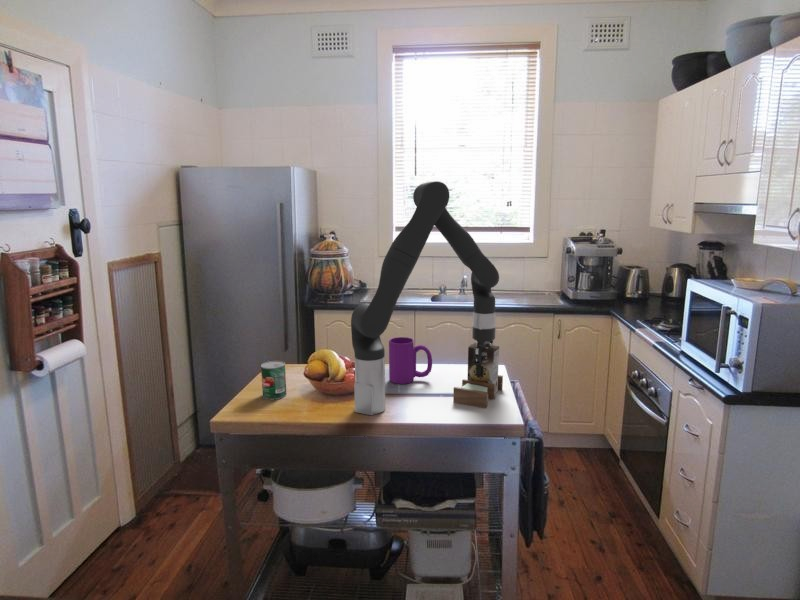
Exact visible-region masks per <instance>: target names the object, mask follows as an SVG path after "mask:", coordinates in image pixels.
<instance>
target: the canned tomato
mask: <svg viewBox="0 0 800 600" xmlns="http://www.w3.org/2000/svg"><path fill="white" fill-rule="evenodd" d="M260 373H261V375H260V376H261V389H262V398H263V399H264V398H265V400H267V399H270V400H269V401H273V400H274V399H276V400H280V398H281V399H283V398H285V397H286V396H287V378H286V362H285V361H281V360H271V361H265V362H262V363H261V365H260ZM274 401H275V400H274Z"/></svg>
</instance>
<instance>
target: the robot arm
mask: <svg viewBox="0 0 800 600" xmlns="http://www.w3.org/2000/svg"><path fill="white" fill-rule="evenodd" d="M412 197H413V198H412V199H413V203H414V205H415V206H416V208H415V210H414V213H413V215H412V216H411V219H410V220H409V221H408V222H407V224H406V225H405V227H404V228H403V229H402V230H401V231H400V232H399V233H398V234H397V236H396V237H395V239H394V240H393V242H392V243H391V245H390V247H389V249H388V250H387V253H386V254H385V257H384V258H383V261H382V265H381V268H380V269H381V270H380V276H379V282H378V286H377V289H376V292H375V294H374V296H373V298H372V300H371V301H370V303H366V302H365V303H361V304H359V305H357V306H356V307H355V308H354V310H353V311H352V314H351V318H350V329H351V331H350V332H351V343H352V344H351V345H352V348H353V351H354V377H355V378H354V380H355V382H354V384H353V386H354V387H353V388H354V389H353V390H354V391H353V392H354V412H355V413H358V414H363V415H367V416H373V415H376V414H380V413H382V412H385V410H386V376H385V375H386V369H385V368H386V367H385V366H386V365H385V364H386V363H385V361H386V360H385V358H386V356H385V354H386V353H385V352H386V351H385V346H384V344H383V342H382V339H381V335H382V334H383V333H385V331H386V329H387V328H388V326H389V323H390V320H391V318H392V316H393V313H394V309H395V307H396V305H397V302H398V299H399V298H400V296H401V294H402V293H403V292H402V291H404V288H405V286H406V283H407V282H408V279H409V278H410V276H411V274H412V272H413V270H414V269H415V266H416V264H417V262H418V261H419V258H420V255H421V253H422V251H423V249H424V247H425V245H426V243H427V241H428V239H429V237H430V235H431V232H432V230H433V228H434V227H435V228H436V229H437V230H438V232H439V233H440V234H441V235H442V237H444V239H445V240H446V241H447V243H448V245H449V246H450V248H452V250H453V251H454V253H455V254H456V257H458V259H459V261H460V262H461V263H462V264H463V265H464V266H466V268H468V269H469V270H470V271H471V274H470V283H471V289H472V295H473V315H472V328H471V329H472V332H471V333H472V335H471V337H472V339H473V340H475V341H476V343H477V345H476V347H477V348H474V349H473V364H474V365H476V376H478V377H482V376H483V365H484V359H485V355H484V356H482V353H483V351H484V349H485V348H486V349H487V348H489V347H490V346H491V345H493V346H494V340H495V339H496V323H497V322H496V320H497V319H496V318H497V317H496V297H495V295H494V294H493V292H492V288H494V287H496V286H497V284H498V283H499V282H500V274H499V271H498V269H497V268H496V266H495V265H494V264H493V263H492V261H491V260H490V259H489V258H488V257H487V256H486V255H485V254H484V253H483V252H482V249H480V247H479V246H478V244H477V242H476V241H475V239H474V238H473V237H472V235H471V234H470V233H469V232H468V231H467V230H466V229H465V228H464V227H463V226H462V225H461V224H460V223H459V222H458V221H456V220H455V219H454V217H453V216H452V215H451V214H450V213H449V211H448V209H447V206H448V204H449V200H450V190H449V188H448V186H447V185H446V183H445V182H442V181H439V180H432V181H427V182H423V183H420V184H419V185H417V187H415V189H414V191H413V195H412ZM488 346H489V347H488ZM478 359H479V362H478Z"/></svg>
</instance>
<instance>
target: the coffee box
mask: <svg viewBox="0 0 800 600" xmlns="http://www.w3.org/2000/svg"><path fill="white" fill-rule="evenodd" d="M477 343H478V342H473V343H472V344H470V345H469V346H468V347H467V349H468V351H467V379H466V380H472V381H478V382H485V383H491V384H495V394H496V393H497V392H498V391H499V390H498V375H499V363H500V362H499V361H500V359H499V358H500V346H499V345H494V344H493V345H491V346H490V347H489V346H488V347H489V348H487V349H486V348H485V349H484V351H483V353H482V356H484V355H485V359H484V365H483V376H482V377H478V376H476V365H474V364H473V349H474V348H477V347H476V345H477ZM478 362H479V359H478Z"/></svg>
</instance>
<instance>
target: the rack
mask: <svg viewBox="0 0 800 600" xmlns="http://www.w3.org/2000/svg"><path fill="white" fill-rule="evenodd" d="M503 380H504V375H501V374H498V391H501V390H502V391H503V384H504V383H503V382H504V381H503ZM467 383H469V384H473V385H478V386H483V387H487V392H483V391H477V390H471V389H465V388H461V387H462V386H464V385H466V384H467ZM461 387H459V386H454V387H453V396H452V397H453V404H459V405H466V406H471V407H477V408H481V409H482V408H483V409H487V408H488V401H489V400H495V399H496V393H495V384H491V383H485V382H478V381H472V380H467V379H466V378H465V379H464V378H463V379H462V382H461ZM487 400H488V401H487Z"/></svg>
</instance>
